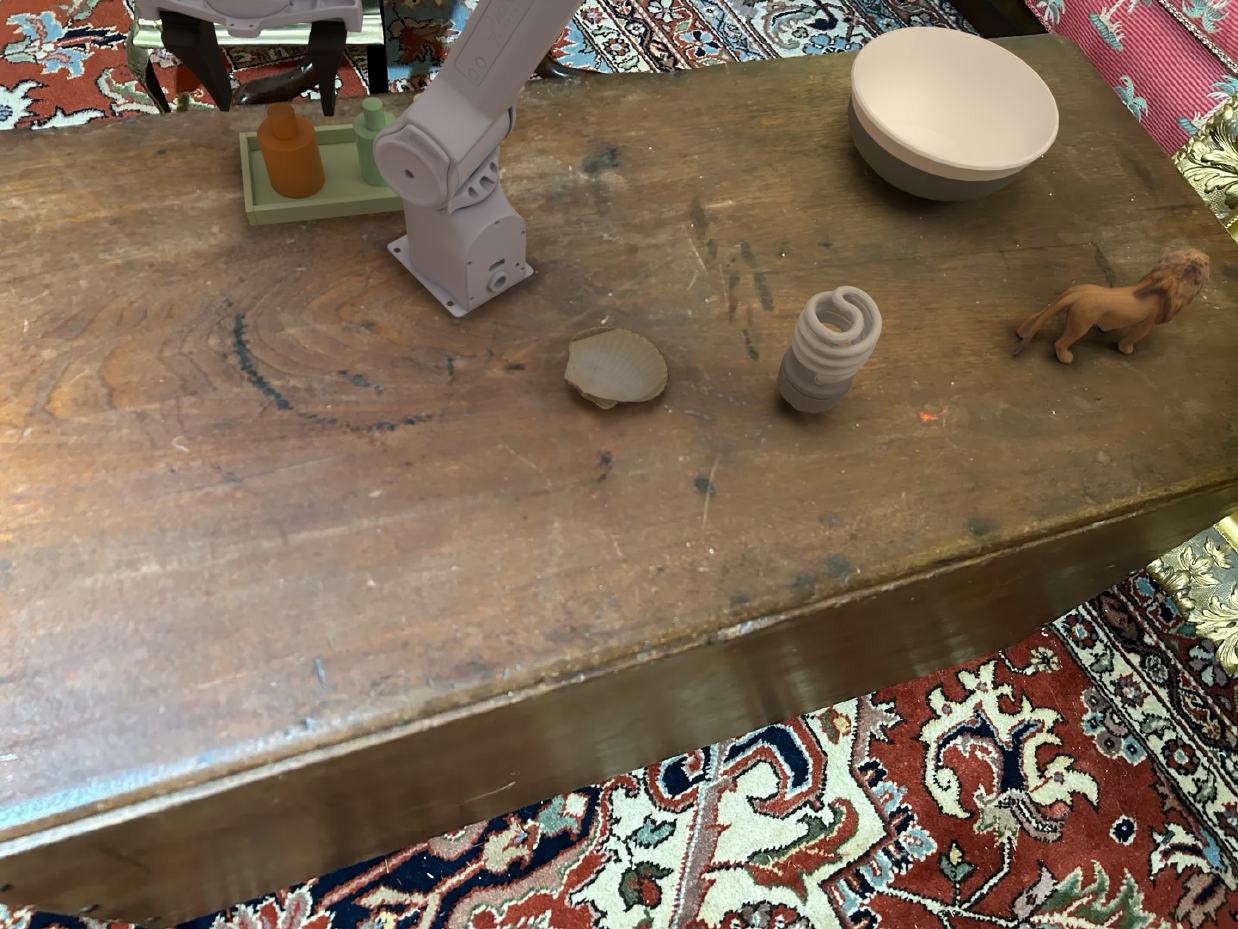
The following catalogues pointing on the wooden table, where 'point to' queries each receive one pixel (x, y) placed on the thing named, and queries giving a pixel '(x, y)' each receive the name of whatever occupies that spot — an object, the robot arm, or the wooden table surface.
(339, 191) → the tray
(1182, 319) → the wooden table surface
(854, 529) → the wooden table surface
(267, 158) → the amber bottle
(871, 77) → the bowl
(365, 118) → the green bottle
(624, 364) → the seashell
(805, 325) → the light bulb
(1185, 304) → the lion figurine
